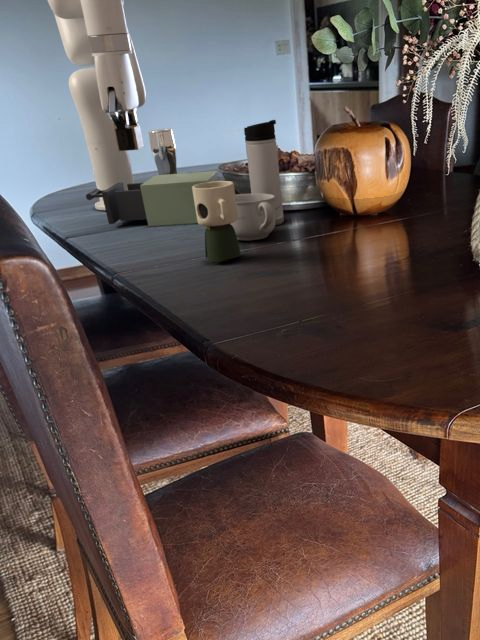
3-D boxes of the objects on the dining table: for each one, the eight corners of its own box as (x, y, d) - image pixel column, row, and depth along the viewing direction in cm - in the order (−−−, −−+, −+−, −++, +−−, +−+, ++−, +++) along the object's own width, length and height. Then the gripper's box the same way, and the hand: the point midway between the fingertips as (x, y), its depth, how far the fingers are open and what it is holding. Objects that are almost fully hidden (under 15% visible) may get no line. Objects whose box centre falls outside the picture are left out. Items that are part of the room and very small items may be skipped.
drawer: (87, 225, 146) (79, 193, 143) (104, 214, 156) (97, 184, 153) (167, 220, 145) (161, 188, 141) (179, 209, 155) (174, 178, 151)
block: (118, 151, 132) (113, 128, 130) (124, 147, 136) (120, 126, 134) (138, 149, 132) (134, 127, 130) (144, 146, 135) (139, 124, 133)
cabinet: (148, 226, 145) (139, 185, 141) (162, 213, 156) (155, 175, 152) (213, 222, 144) (206, 180, 139) (223, 209, 155) (217, 170, 150)
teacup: (218, 236, 132) (212, 195, 128) (268, 227, 135) (264, 187, 131) (238, 251, 121) (232, 207, 117) (292, 241, 124) (288, 198, 120)
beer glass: (179, 187, 187) (169, 130, 179) (155, 188, 187) (145, 132, 180) (184, 182, 193) (174, 128, 185) (161, 184, 193) (150, 130, 186)
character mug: (197, 256, 120) (184, 183, 113) (233, 250, 122) (223, 177, 115) (213, 271, 111) (200, 192, 104) (252, 263, 113) (242, 185, 107)
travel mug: (281, 226, 136) (271, 121, 125) (251, 227, 137) (238, 123, 127) (288, 219, 141) (279, 118, 131) (259, 220, 142) (248, 120, 132)
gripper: (106, 47, 132) (125, 143, 141) (75, 48, 117) (100, 156, 127) (141, 44, 131) (159, 141, 141) (115, 45, 117) (137, 153, 126)
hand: (131, 147), depth 134 cm, fingers closed on block, 4 cm apart
